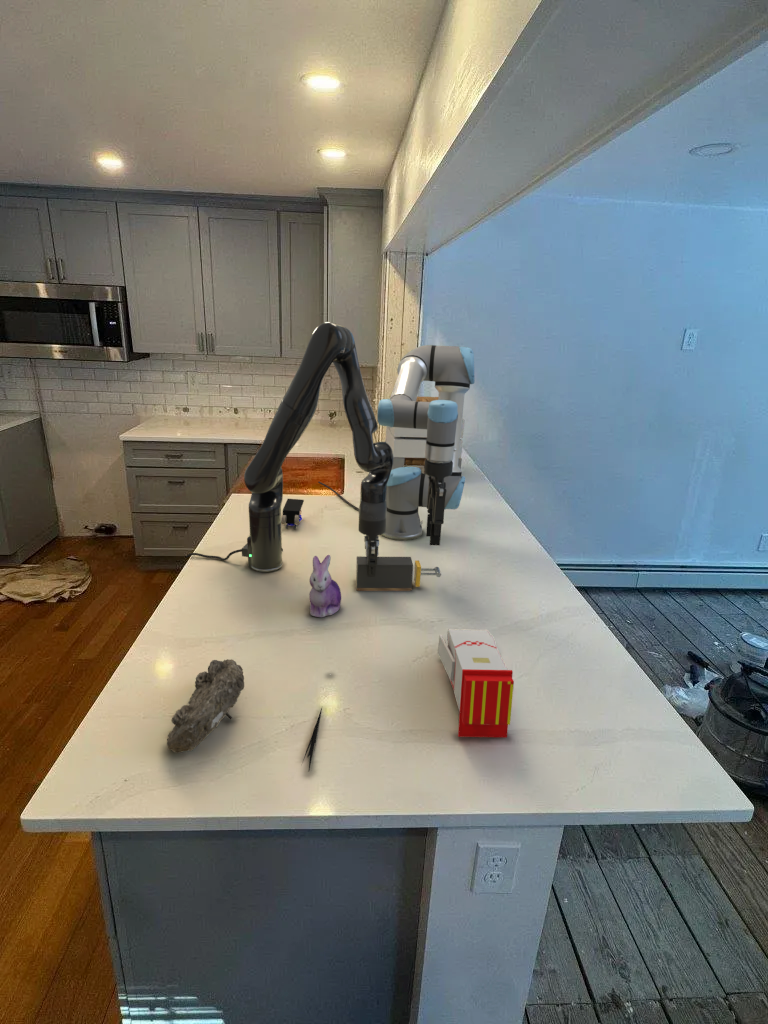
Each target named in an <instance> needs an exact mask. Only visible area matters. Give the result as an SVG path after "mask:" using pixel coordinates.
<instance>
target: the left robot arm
mask: <svg viewBox="0 0 768 1024" xmlns="http://www.w3.org/2000/svg"><path fill="white" fill-rule="evenodd" d="M332 364H333V366H334V368H335V370H336V372H337V374H338V375H337V376H338V378H339V381H340V386H341V395H342V396H341V398H342V405H343V410H344V414H345V417H346V419H347V423H348V425H349V427H350V431H351V433H352V435H351V436H352V447H353V454H354V459H355V462H356V464H357V466H358V467H359V468H360V469H361V470H362V471H364V472H365V473H368V474H367V476H366V477H364V478H363V479H362V480H361V483H360V493H359V494H360V498H359V506H358V508H359V510H358V533H360V534H362V535H363V537H364V538H363V541H364V549H365V557H367V565H368V567H367V576H368V577H375V570H376V565H377V557H379V546H380V538H379V537H380V536H383V535H382V534H384V533H385V531H386V514H387V505H386V494H387V483H388V480H389V477H390V473H391V470H392V466H393V458H394V457H393V451H392V449H391V447H390V445H389V444H387V443H386V441H376V442H374V437H373V434H374V433H376V432H377V430H378V428H379V427H378V425H379V424H378V421H377V418H376V416H375V412H374V411H373V407H372V404H371V402H370V400H369V397H368V392H367V391H366V387H365V383H364V380H363V379H364V378H363V376H362V372H361V367H360V363H359V358H358V352H357V346H356V341H355V338H354V335H353V333H352V332H351V330H350V329H349V328H348V327H346V326H344V325H341V324H339V323H335V322H332V321H325V322H322V323H320V324H318V326H316V327H315V329H314V330H313V332H312V334H311V336H310V338H309V341H308V343H307V346H306V349H305V351H304V353H303V357H302V360H301V362H300V364H299V366H298V369H297V370H296V372H295V374H294V376H293V377H292V380H291V382H290V384H289V386H288V388H287V391H286V392H285V394H284V396H283V397H282V400H281V401H280V403H279V405H278V407H277V409H276V412H275V413H274V416H273V418H272V420H271V423H270V425H269V427H268V430H267V431H266V434H265V437H264V440H263V442H262V444H261V446H260V447H259V449H258V450H257V452H256V454H255V455H254V457H253V458H252V460H251V461H250V462H249V464H248V466H247V467H246V469H245V470H244V475H243V477H244V478H243V481H244V484H245V487H246V488H247V490H248V491H249V492H251V496H250V499H249V502H248V522H249V523H248V524H249V536H248V537H247V538H246V544H245V545H244V546H243V547H242V548H240V549H236V550H233V551H230V553H228V554H227V556H226V557H224V558H223V557H221V556H219V555H207V554H203V553H198V552H191V553H188V554H186V556H185V558H190V557H191V556H198V557H201V558H206V559H207V558H208V559H217V560H219V561H221V562H222V561H224V562H226V561H227V560H228V559H230V557H231V556H232V555H234V554H237V553H241V557H245V558H247V567H248V568H251V569H252V570H254V571H256V572H259V573H270V572H271V573H272V572H275V571H278V570H279V569H281V568H282V567H283V553H284V549H283V537H282V536H283V535H282V533H283V532H282V524H281V520H282V503H283V499H284V498H283V497H284V473H283V472H284V471H283V468H282V466H283V464H284V462H285V460H286V458H287V456H288V455H289V453H290V452H291V451H292V449H294V447H295V445H296V444H297V443H298V442H299V440H300V439H301V438H302V436H303V434H304V433H305V431H306V430H307V428H308V426H309V425H310V423H311V421H312V419H313V417H314V415H315V414H316V411H317V409H318V404H319V400H320V392H321V387H322V383H323V380H324V378H325V375H326V374H327V373H328V370H329V368H330V367H331V365H332ZM370 559H374V560H370Z"/></svg>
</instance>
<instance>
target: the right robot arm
mask: <svg viewBox="0 0 768 1024" xmlns="http://www.w3.org/2000/svg"><path fill="white" fill-rule="evenodd" d="M396 371H397V377H396V380H395V383H394V386H393V388H392V391H391V394H390V396H389V398H387V399H386V398H382V399H379V401H378V403H377V404H378V405H377V413H376V414H377V418H376V420H377V424H378V425H379V426H381V427H386V426H388V427H399V428H414V429H427V440H426V448H425V458H426V460H425V466H423V467H424V468H423V472H422V469H421V468H420V467H419V466H418V467H417V466H404V467H400V468H396V469H393V470H391V473H390V477H389V480H388V483H387V494H386V505H387V514H386V531H385V533H384V534H382V535H381V536H382V537H385V538H387V539H389V540H395V541H410V540H415V539H418V538H420V537H421V536H422V535H423V520H421V518H420V515H419V508H426V510H427V519H426V529H425V536H426V537H428V538H429V546H441V536H442V535H441V534H442V525H444V523H445V511H446V510H457V509H458V508H459V507H460V504H461V501H462V498H463V497H462V496H463V493H464V492H463V491H464V486H465V483H466V477H465V476H464V475H463V474H462V473H463V470H462V468H461V469H460V468H459V467H458V459H459V448H460V439H461V438H460V437H461V426H462V419H463V414H464V403H465V395H466V393H467V392H468V391H470V388H471V385H473V384H475V379H476V378H475V353H474V350H473V349H472V348H471V347H467V346H461V345H457V346H456V345H435V344H434V345H433V344H425V345H421V346H418V347H415V348H412V349H411V350H410V351H408V352H407V353H405V355H403V357H401V359H400V361H399V363H398V365H397V369H396ZM422 382H434V388H435V390H436V391H437V392H438V396H437V397H438V400H434V401H431V402H419V401H416V399H417V396H418V395H419V392H420V388H421V383H422ZM318 484H320V485H322V486H324V487H326V488H327V489H328V490H330V491H332V493H334V494H335V495H336V496H338V497H339V498H340V499H341V500H343V501H344V502H345V503H346V504H348V505H349V506H350V507H352V508H353V509H355V510H356V511H359V507H357V506H356V505H354V504H353V503H351V502H349V501H348V500H347V499H345V498H344V497H343V496H342V495H341V494H340V493H338V492H337V491H336V490H335V489H333V488H332V487H330V486H329V485H327V484H325V483H323V482H321V481H318Z"/></svg>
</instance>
